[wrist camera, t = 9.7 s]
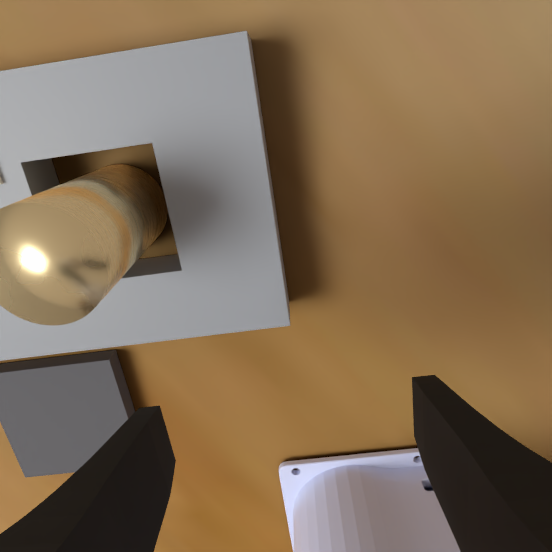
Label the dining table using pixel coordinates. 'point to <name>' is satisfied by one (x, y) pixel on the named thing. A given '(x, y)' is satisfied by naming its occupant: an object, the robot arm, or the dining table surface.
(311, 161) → the dining table surface
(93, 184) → the shiny gold tapered cylinder
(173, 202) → the plate
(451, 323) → the dining table surface
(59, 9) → the dining table surface
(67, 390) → the pad
